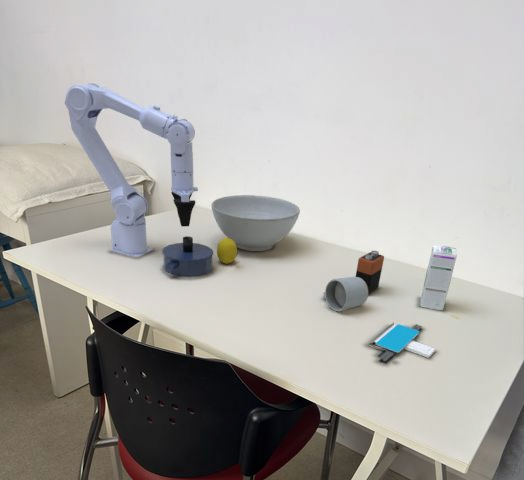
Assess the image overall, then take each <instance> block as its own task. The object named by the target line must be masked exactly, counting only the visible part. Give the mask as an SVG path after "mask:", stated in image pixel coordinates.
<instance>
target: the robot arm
mask: <svg viewBox="0 0 524 480" xmlns="http://www.w3.org/2000/svg"><path fill="white" fill-rule="evenodd" d="M64 105H65V107H66V109H67V110H68V116H69V121H70V128H71V130H72V132H73V134H74V136H75V138H76V139H77V140H78V142H79V144H80V145H81V147H82V148H83V150H84V152H85V153H86V155H87V157H88V158H89V160H90V162H91V163H92V165H93V167H94V168H95V169H96V171H97V173H98V174H99V176H100V178H101V180H102V181H103V183H104V184H105V186H106V187H107V189H108V191H109V192H110V203H111V205H112V207H113V211H114V216H115V219H114V220H113V221H112V223H111V224H110V225H111V226H110V236H111V247H112V248H111V249H110V251H111V252H114V253H115V252H116V253H119V254H124V255H127V256H131V257H137V258H138V257H140V256H143V255H144V254H146V253H149V252H151V251H153V250H154V248H152V247H148V241H147V240H148V239H147V224H146V218H145V215H146V214H147V212H148V210H149V209H148V208H149V205H148V201H147V199H146V197H144V196H143V195H142V194H140V193H139V192H138V190H137V188H136V187H135V186H133V185H131V184H130V183H129V182H128V180H127V179H126V177H125V176H124V174H123V172H122V170H121V169H120V167H119V165H118V164H117V162H116V160H115V159H114V157H113V156H112V154H111V152H110V150H109V149H108V147H107V145H106V144H105V142H104V141H103V139H102V137H101V135H100V134H99V132H98V130H97V129H96V125H97V121H98V117H99V116H100V113H101V112H102V111H103V110H106V109H110V110H112V111H115V112H117V113H119V114H122V115H124V116H127V117H129V118H132V119H134V120H135V121H138V122H139V123H140V125H141V128H142V129H144V130H146V131H148V132H150V133H152V134H153V135H154V134H155V135H157V136H159V137H161V138H163V139H164V140H167V142H168V143H169V145H170V172H171V189H170V190H171V193H170V194H171V195H172V198H173V203H174V205H175V207H176V211H177V216H178V219H179V224H180V226H181V227H190V223H191V220H192V219H191V218H192V212H193V210H194V207H195V205H196V200H194V199H193V200H192V199H191V197H192V195H193V193H194V192H198V191H199V187H197V186H194V185H195V184H194V152H193V142H192V141H193V140H194V138H195V135H196V130H195V127H194V125H193V124H192V123H191V122H190V121H188V120H187V119H186V118H180V119H178V115H175V114H172V115H171V114H169V113H167V112H165V111H163V110H161V106H159V105H153V106H152V105H149V106H146V107H142V106H141V105H139V104H137V103H135V102H133V101H132V100H130V99H127V98H126V97H124V96H122V95H120V94H119V93H116V92H114V91H113V90H111V89H109V88H108V87H104V86H100V85H98V84H96V83H88V84H72V85H71V86H70V87H69V88H68V89H67V92H66V95H65V99H64Z"/></svg>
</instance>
